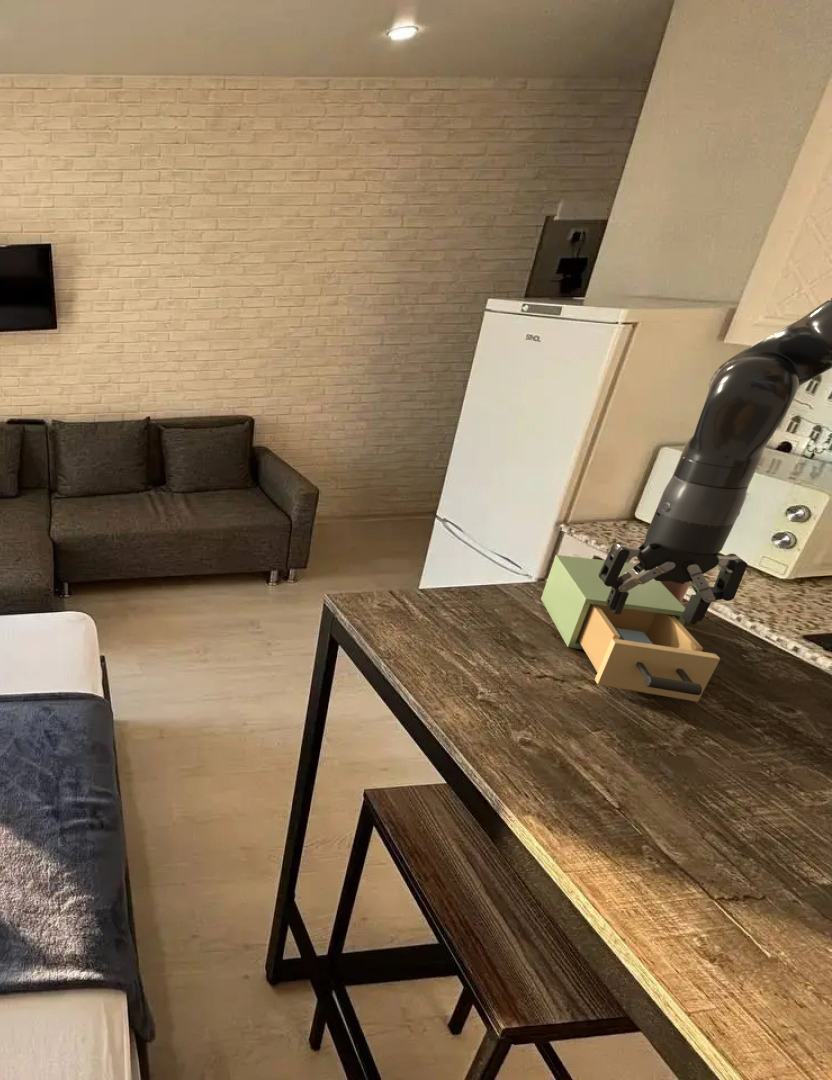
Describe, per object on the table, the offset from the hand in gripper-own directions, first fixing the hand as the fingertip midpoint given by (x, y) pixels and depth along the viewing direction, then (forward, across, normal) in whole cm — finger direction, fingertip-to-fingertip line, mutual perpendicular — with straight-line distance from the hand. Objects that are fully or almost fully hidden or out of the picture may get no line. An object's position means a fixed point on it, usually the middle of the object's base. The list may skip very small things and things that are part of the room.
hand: (650, 616), depth 83 cm
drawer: (+9, 0, +2) cm, 9 cm away
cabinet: (+10, 0, -12) cm, 15 cm away
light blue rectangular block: (+8, 0, 0) cm, 8 cm away
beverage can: (+10, -11, -22) cm, 26 cm away
